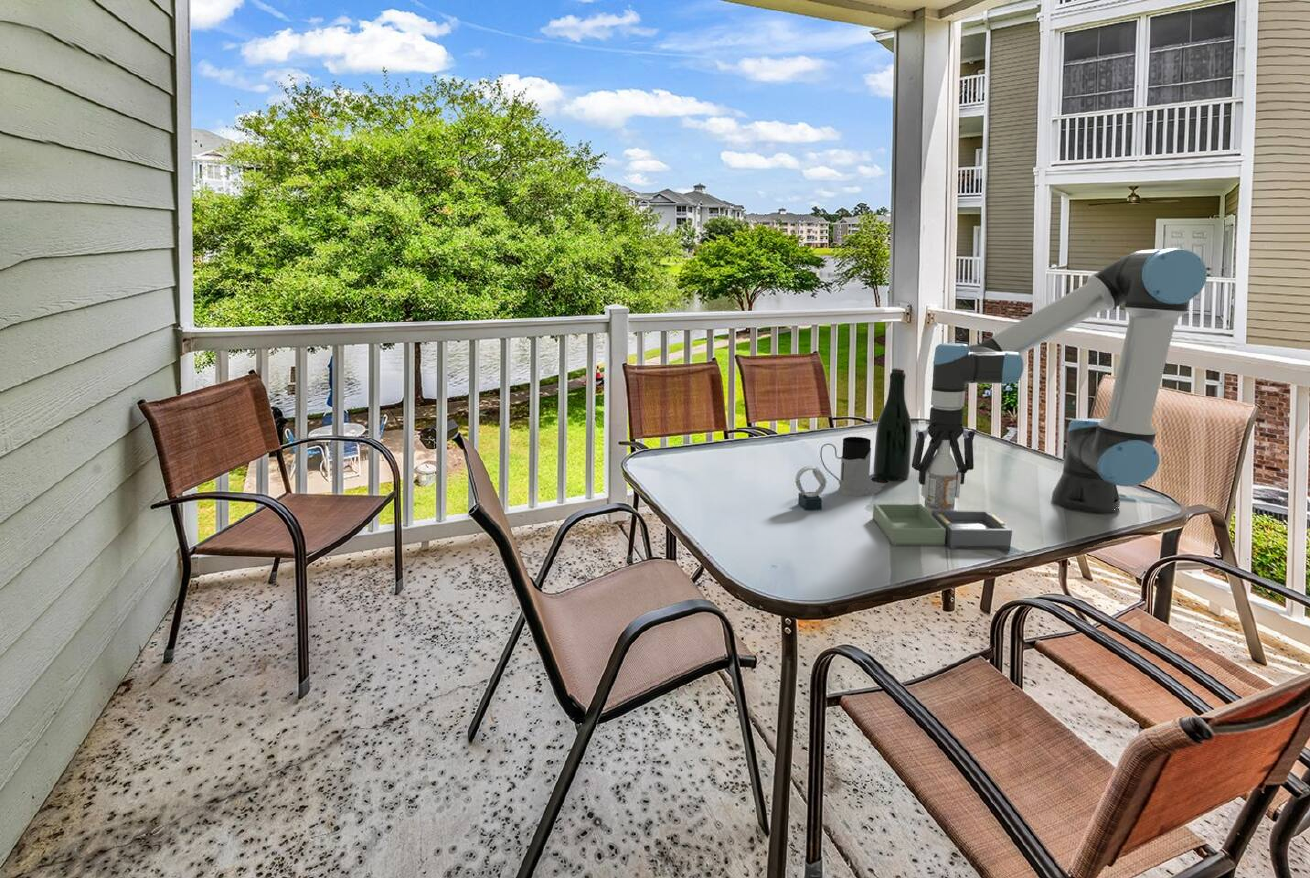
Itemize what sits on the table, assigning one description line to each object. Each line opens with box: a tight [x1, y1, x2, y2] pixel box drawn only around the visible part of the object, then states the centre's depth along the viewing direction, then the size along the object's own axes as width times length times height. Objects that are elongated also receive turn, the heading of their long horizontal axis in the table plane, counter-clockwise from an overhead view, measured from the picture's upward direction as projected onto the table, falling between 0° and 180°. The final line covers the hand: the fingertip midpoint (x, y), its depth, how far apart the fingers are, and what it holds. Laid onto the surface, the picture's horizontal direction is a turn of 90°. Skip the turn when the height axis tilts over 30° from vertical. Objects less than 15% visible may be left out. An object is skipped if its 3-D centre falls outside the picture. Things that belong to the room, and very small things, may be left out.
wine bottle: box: [872, 367, 913, 481], centre depth 203 cm, size 10×10×33 cm
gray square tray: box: [932, 510, 1013, 550], centre depth 157 cm, size 13×13×5 cm
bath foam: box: [923, 440, 958, 515], centre depth 170 cm, size 7×7×20 cm
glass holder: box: [819, 436, 872, 497], centre depth 192 cm, size 9×14×15 cm, turn 80°
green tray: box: [872, 503, 946, 547], centre depth 162 cm, size 12×18×4 cm, turn 177°
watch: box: [794, 465, 828, 512], centre depth 180 cm, size 6×8×11 cm
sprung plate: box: [949, 521, 992, 529], centre depth 157 cm, size 10×10×1 cm
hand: (940, 496), depth 171 cm, fingers closed on bath foam, 7 cm apart
